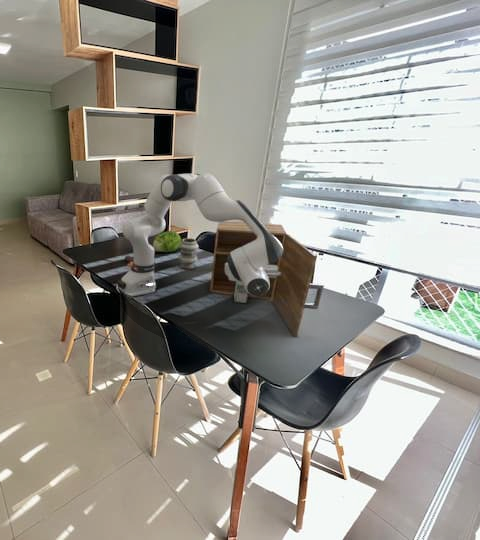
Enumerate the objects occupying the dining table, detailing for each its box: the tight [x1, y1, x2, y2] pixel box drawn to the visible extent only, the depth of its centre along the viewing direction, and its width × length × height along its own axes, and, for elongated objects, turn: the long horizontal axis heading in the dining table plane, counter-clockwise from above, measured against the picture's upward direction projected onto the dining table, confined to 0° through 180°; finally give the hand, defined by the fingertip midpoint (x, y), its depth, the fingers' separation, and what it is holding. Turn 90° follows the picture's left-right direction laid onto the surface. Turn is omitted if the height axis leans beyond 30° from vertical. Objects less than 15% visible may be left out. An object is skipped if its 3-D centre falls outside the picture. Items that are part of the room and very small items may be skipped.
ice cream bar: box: [124, 255, 134, 265], centre depth 194 cm, size 3×5×15 cm
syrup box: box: [233, 282, 249, 304], centre depth 140 cm, size 6×6×14 cm
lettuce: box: [152, 230, 182, 253], centre depth 213 cm, size 16×21×15 cm
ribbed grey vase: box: [177, 237, 199, 271], centre depth 182 cm, size 12×12×18 cm
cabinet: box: [209, 221, 288, 301], centre depth 148 cm, size 18×30×34 cm, turn 69°
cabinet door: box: [271, 233, 325, 337], centre depth 121 cm, size 7×30×34 cm, turn 169°
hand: (248, 264), depth 125 cm, fingers open, 8 cm apart
